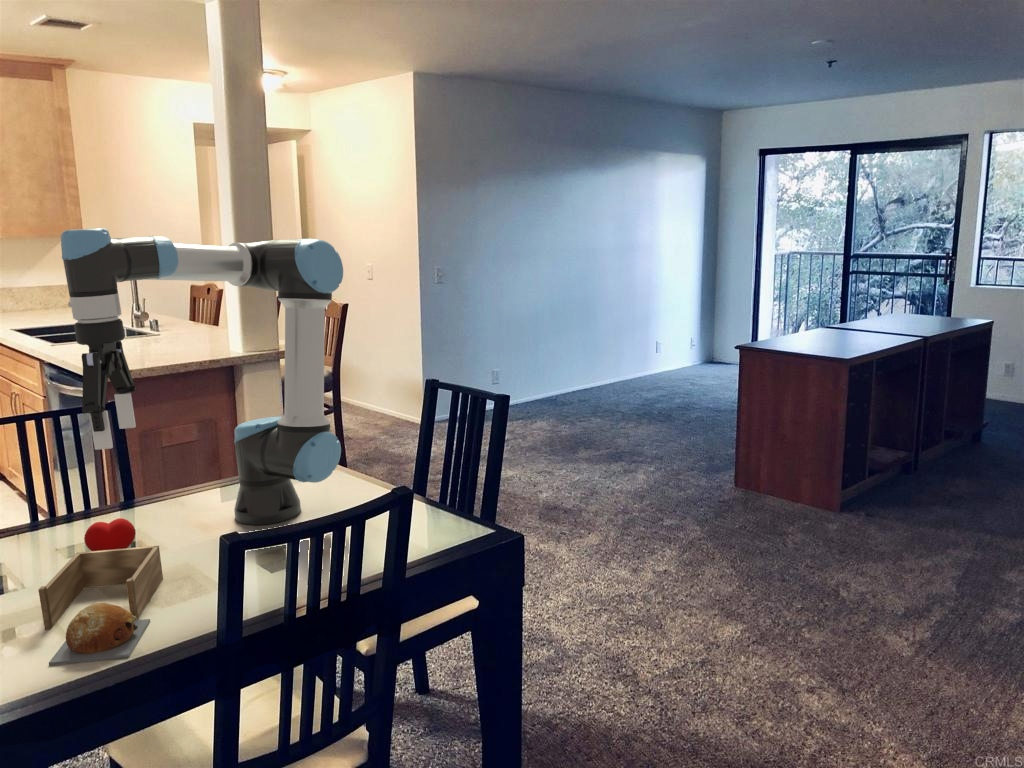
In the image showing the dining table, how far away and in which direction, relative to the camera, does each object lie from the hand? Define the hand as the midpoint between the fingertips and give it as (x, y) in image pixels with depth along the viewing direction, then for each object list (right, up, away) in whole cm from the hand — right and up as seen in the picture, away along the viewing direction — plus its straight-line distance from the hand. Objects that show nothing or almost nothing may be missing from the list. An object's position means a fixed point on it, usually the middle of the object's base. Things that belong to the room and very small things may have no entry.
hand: (116, 437), depth 143 cm
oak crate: (-4, -31, +5) cm, 32 cm away
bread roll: (+2, -33, -9) cm, 35 cm away
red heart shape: (-11, -28, +21) cm, 37 cm away
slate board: (+2, -34, -9) cm, 35 cm away
